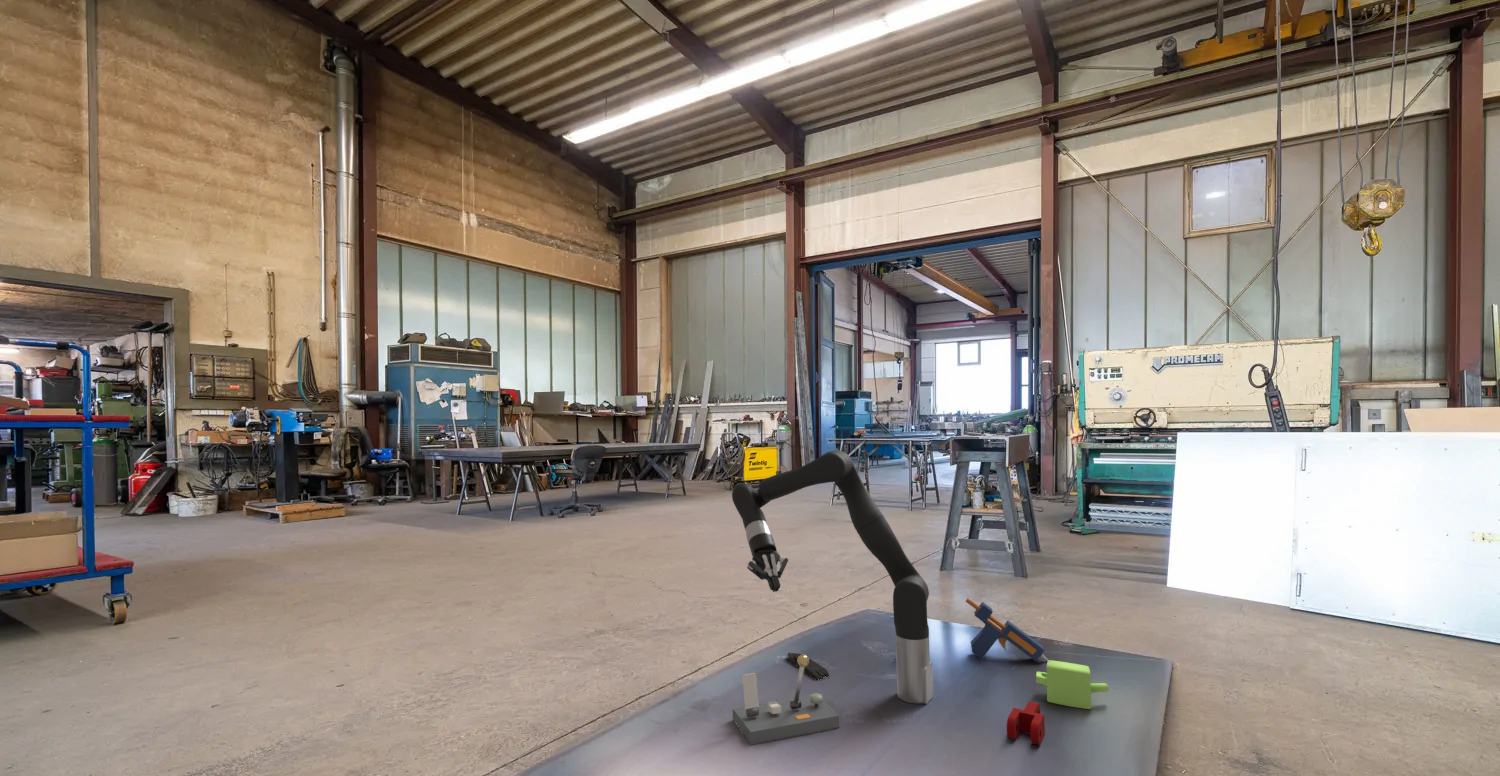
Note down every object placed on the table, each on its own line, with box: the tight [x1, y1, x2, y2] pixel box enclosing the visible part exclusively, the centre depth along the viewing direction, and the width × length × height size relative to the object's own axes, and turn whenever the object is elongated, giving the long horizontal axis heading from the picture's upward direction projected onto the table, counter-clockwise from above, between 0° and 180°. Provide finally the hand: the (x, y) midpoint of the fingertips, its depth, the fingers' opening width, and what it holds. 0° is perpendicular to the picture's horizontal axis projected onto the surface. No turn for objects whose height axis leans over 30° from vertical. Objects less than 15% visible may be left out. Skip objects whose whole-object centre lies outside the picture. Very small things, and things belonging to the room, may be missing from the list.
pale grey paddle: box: [741, 672, 760, 717], centre depth 163 cm, size 2×4×10 cm, turn 110°
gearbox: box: [1035, 659, 1110, 710], centre depth 177 cm, size 18×10×10 cm, turn 64°
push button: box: [809, 692, 823, 707], centre depth 168 cm, size 3×3×3 cm
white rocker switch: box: [767, 701, 781, 714], centre depth 164 cm, size 4×2×2 cm, turn 20°
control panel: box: [732, 694, 840, 745], centre depth 165 cm, size 14×24×3 cm, turn 110°
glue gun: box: [965, 597, 1049, 662], centre depth 210 cm, size 6×31×15 cm
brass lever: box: [790, 653, 810, 709], centre depth 164 cm, size 3×3×16 cm
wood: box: [786, 652, 830, 681], centre depth 204 cm, size 22×7×3 cm, turn 25°
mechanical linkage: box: [1006, 701, 1046, 746], centre depth 160 cm, size 16×7×5 cm, turn 145°
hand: (776, 590), depth 181 cm, fingers closed
